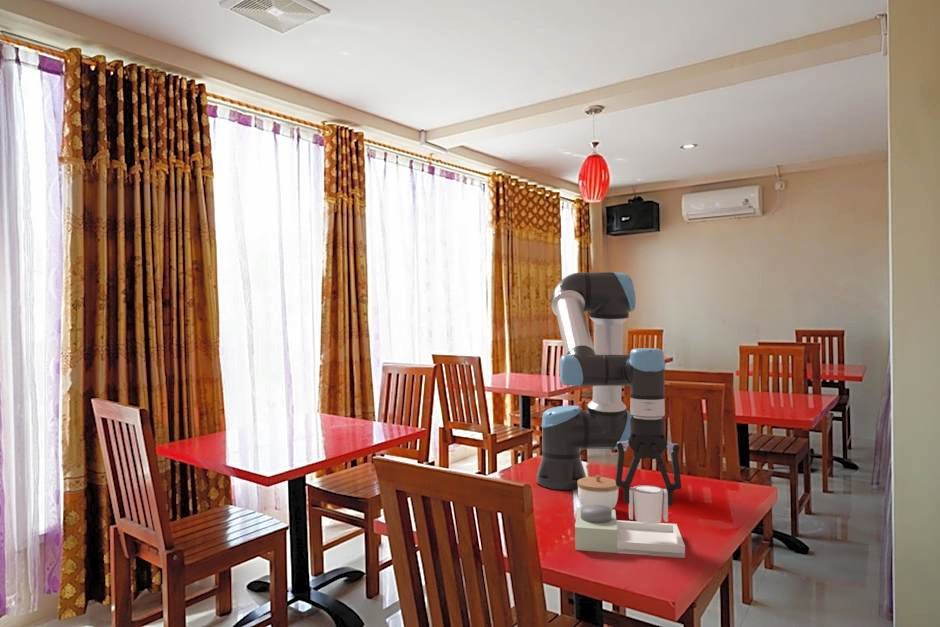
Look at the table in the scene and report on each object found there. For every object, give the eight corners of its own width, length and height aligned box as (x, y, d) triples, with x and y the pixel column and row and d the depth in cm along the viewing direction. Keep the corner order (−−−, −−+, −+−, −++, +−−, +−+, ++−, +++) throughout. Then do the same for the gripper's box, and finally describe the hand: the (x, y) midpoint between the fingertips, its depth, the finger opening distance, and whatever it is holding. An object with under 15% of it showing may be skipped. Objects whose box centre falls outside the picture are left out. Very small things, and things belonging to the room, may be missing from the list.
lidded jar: (588, 519, 154) (588, 482, 154) (570, 507, 164) (570, 472, 164) (626, 515, 157) (626, 479, 157) (606, 503, 167) (606, 469, 167)
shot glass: (631, 523, 135) (631, 491, 135) (632, 513, 142) (632, 483, 142) (664, 526, 133) (664, 494, 133) (663, 516, 140) (663, 486, 140)
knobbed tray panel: (577, 528, 148) (577, 499, 148) (676, 534, 143) (676, 504, 143) (575, 549, 134) (575, 518, 134) (685, 557, 130) (684, 525, 130)
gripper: (602, 418, 136) (603, 521, 136) (696, 420, 132) (696, 527, 132) (602, 413, 144) (603, 510, 143) (690, 415, 140) (691, 516, 139)
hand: (648, 518), depth 138 cm, fingers closed on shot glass, 7 cm apart
